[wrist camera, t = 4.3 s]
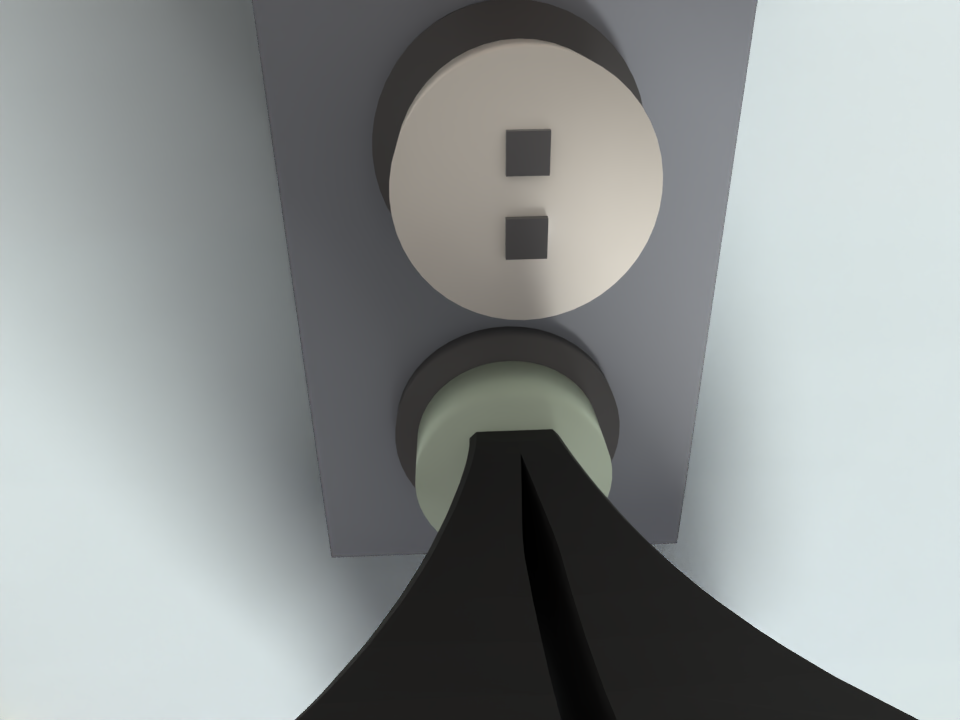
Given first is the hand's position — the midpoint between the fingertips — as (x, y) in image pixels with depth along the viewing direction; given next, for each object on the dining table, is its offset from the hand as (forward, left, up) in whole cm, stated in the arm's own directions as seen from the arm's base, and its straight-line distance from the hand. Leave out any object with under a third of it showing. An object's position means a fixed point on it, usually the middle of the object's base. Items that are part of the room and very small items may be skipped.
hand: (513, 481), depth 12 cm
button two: (+4, +3, 0) cm, 5 cm away
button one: (0, 0, -1) cm, 1 cm away
